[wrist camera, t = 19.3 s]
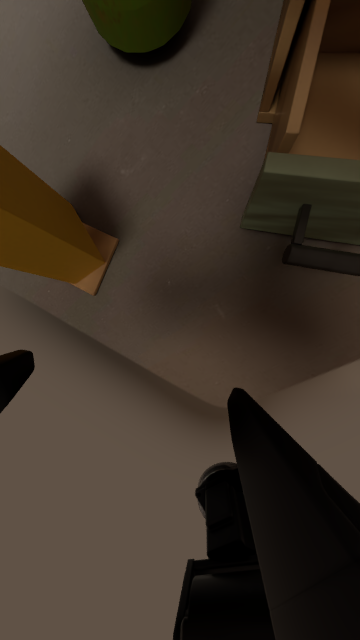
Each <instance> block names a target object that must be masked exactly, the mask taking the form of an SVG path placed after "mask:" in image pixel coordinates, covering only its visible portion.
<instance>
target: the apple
mask: <svg viewBox="0 0 360 640" xmlns="http://www.w3.org/2000/svg"><path fill="white" fill-rule="evenodd" d="M82 1H83V3H84V5H85V7H86V9H87V11H88V13H89V15H90V17H91V19H92V21H93V23H94V25H95V27H96V29H97V31H98V33H99V34H100V35H101V36H102V37H103V38H104V39H105V40H106V41H107V42H108V43H109V44H110V45H111V46H113V47H116V48H118V49H120V50H122V51H124V52H135V53H145V52H150V51H152V50H154V49H157V48H159V47H161V46H163V45H164V44H165V43H167V42H168V41H169V40H170V39H171V38H172V37H173V36H174V35H175V34H176V33H177V32H178V31H179V30H180V28H181V26H182V25H183V23H184V21H185V19H186V17H187V15H188V13H189V11H190V9H191V2H192V0H82Z"/></svg>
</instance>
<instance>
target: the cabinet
mask: <svg viewBox="0 0 360 640" xmlns="http://www.w3.org/2000/svg"><path fill="white" fill-rule="evenodd" d="M305 2H306V0H284V1H283V6H282V10H281V15H280V19H279V24H278V28H277V33H276V37H275V42H274V46H273V50H272V55H271V59H270V64H269V68H268V73H267V77H266V82H265V86H264V91H263V95H262V100H261V104H260V109H259V113H258V118H257V122H260V123H273V120H274V115H275V111H276V107H277V102H278V98H279V94H280V89H281V85H282V80H283V76H284V72H285V67H286V63H287V58H288V54H289V51H290V48H291V45H292V42H293V39H294V36H295V33H296V30H297V27H298V24H299V21H300V18H301V15H302V12H303V8H304V5H305Z"/></svg>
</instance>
